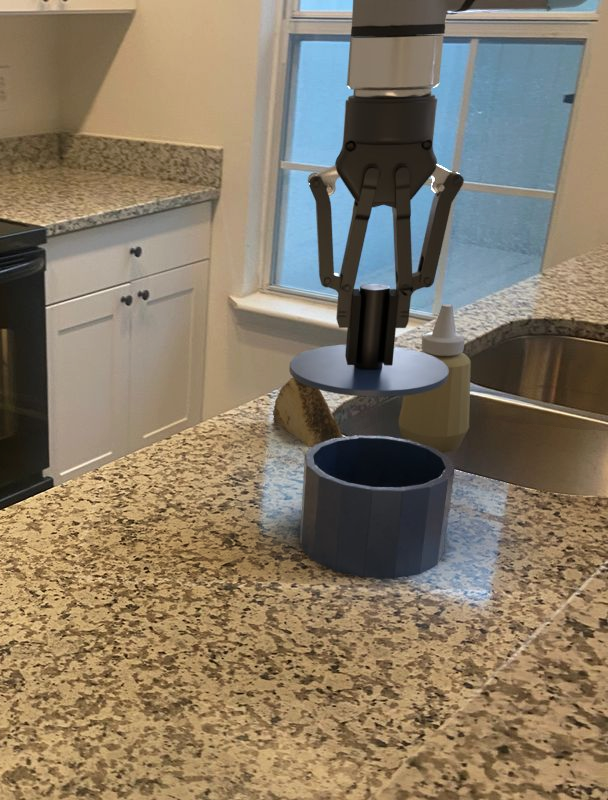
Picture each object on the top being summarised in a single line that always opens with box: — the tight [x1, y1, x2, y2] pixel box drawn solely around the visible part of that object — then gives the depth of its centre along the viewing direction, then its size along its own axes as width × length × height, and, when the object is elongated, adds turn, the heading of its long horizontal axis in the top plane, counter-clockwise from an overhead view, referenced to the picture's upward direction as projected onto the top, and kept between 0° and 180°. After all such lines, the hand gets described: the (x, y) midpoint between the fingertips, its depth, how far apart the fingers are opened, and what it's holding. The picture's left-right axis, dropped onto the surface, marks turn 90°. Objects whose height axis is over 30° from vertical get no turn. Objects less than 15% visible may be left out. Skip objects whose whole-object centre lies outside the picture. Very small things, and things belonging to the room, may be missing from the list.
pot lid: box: [288, 283, 449, 398], centre depth 96 cm, size 15×15×9 cm
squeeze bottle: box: [398, 303, 472, 454], centre depth 120 cm, size 8×8×18 cm
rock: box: [272, 377, 343, 448], centre depth 128 cm, size 11×9×10 cm
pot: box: [299, 434, 456, 580], centre depth 100 cm, size 14×14×10 cm
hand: (368, 360), depth 97 cm, fingers closed on pot lid, 3 cm apart
